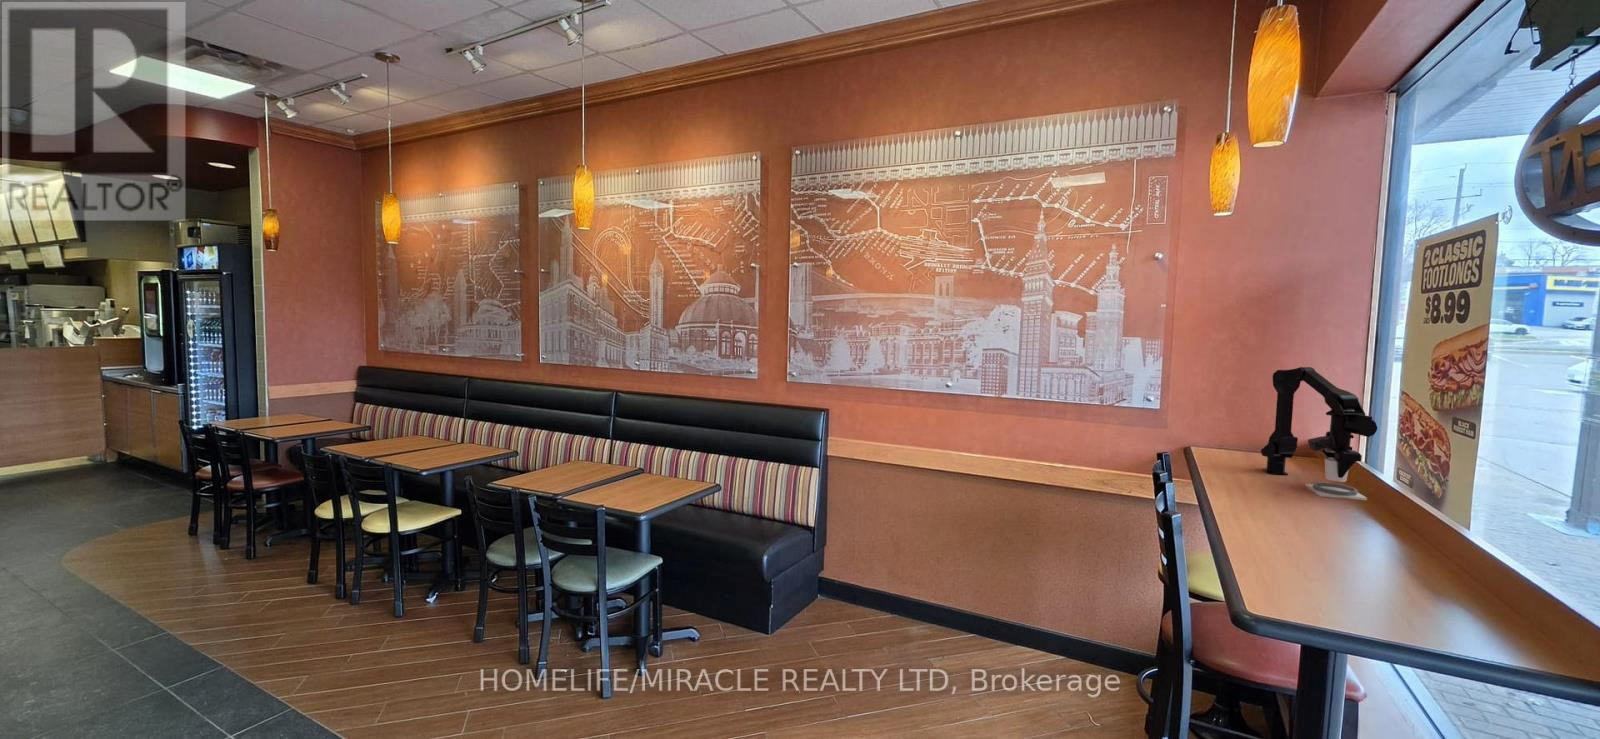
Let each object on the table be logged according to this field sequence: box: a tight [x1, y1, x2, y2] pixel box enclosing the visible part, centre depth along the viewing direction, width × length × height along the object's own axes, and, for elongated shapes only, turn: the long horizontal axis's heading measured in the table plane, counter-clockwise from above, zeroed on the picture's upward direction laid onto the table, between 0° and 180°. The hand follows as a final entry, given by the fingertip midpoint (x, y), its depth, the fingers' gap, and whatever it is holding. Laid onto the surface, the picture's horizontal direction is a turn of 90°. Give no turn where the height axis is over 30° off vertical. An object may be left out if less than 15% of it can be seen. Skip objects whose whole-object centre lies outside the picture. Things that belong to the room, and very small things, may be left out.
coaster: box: [1304, 481, 1368, 501], centre depth 226 cm, size 13×13×2 cm
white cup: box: [1324, 457, 1350, 483], centre depth 225 cm, size 7×7×7 cm
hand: (1336, 475), depth 226 cm, fingers closed on white cup, 6 cm apart
